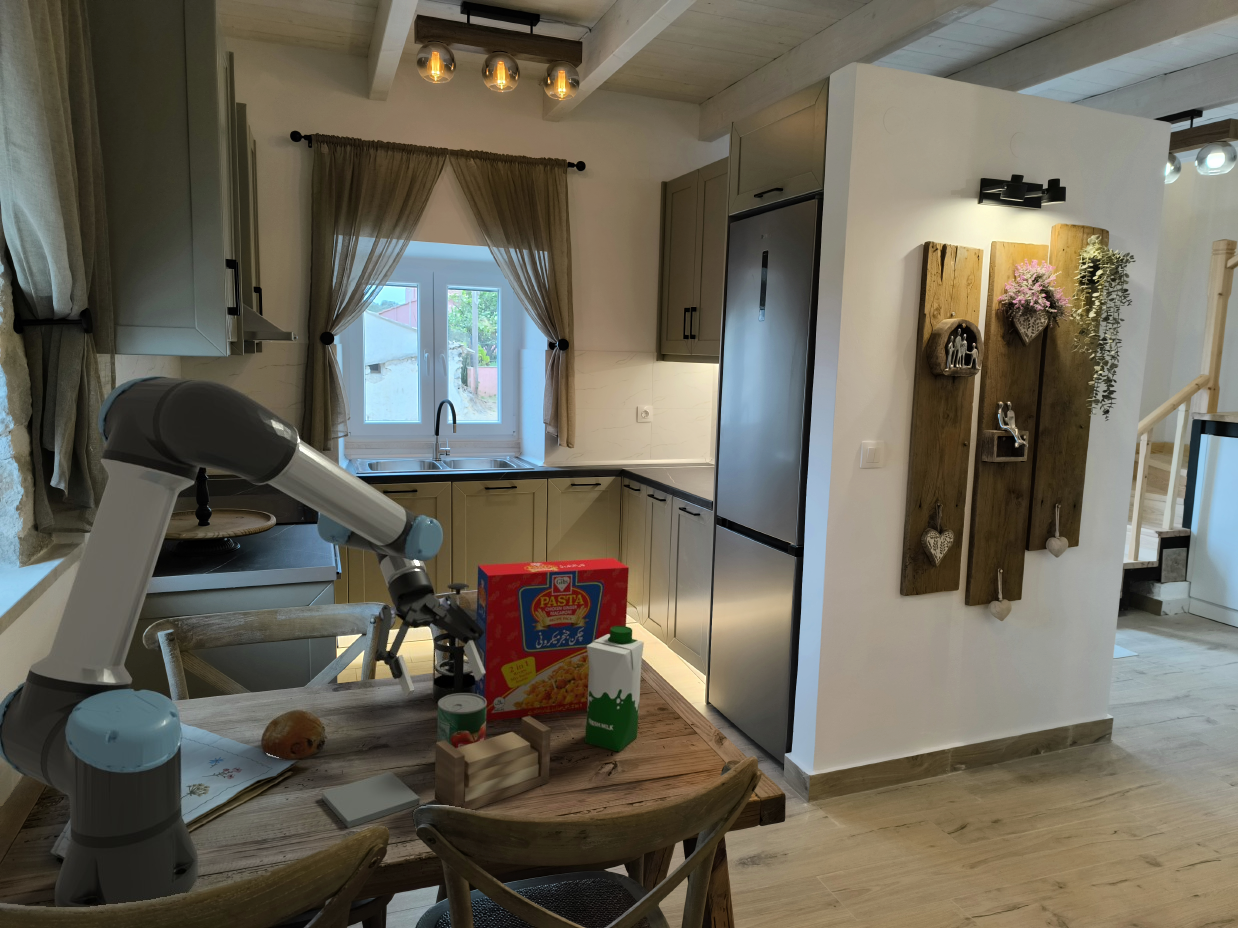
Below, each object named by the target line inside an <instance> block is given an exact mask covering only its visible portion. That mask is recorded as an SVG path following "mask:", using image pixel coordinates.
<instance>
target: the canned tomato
mask: <svg viewBox="0 0 1238 928" xmlns="http://www.w3.org/2000/svg"><path fill="white" fill-rule="evenodd" d="M486 704H487V701H486V699H485V698H484V697H482V696H480V695H477V694H471V693H457V694H451V695H447V696H445V697H443V698H441V699H440V700H439V701H438V704H437V737H436V738H437V742H440V741H443V740H445V741H447V742H448V743H449V744H451V745H452V746H453V747H455V748H459V747H462V746H466V745H469V744H473V743H476V742H479V741H483V740H486V737H487V736H486V734H487V733H486V732H487V730H486V729H487V726H486V725H487V722H486Z"/></svg>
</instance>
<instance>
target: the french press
mask: <svg viewBox="0 0 1238 928" xmlns="http://www.w3.org/2000/svg"><path fill="white" fill-rule="evenodd" d="M469 587H470V586H469V585H468V584H467V583H461V582H454V583H449V584H448V585H447V587H446V588H448V589H449V590H454V591H455V595H456V603H457V604H458V605H459V603H460V600H459V598H460V595H461V592H462V591H461V590H466V589H469ZM459 606H460V605H459ZM462 609H463V610H464V611H465V612H466V613H467V614H468V615H469V616H470V617H471V618H472V619H473V620H474V621H475V622H476V623H477V610H473V609H469V608H462ZM442 610H443V609H442ZM443 611H444V612H446V610H443ZM446 613H447V612H446ZM447 616H449V617H450V618H452V617H451V616H450V615H449V614H448V613H447ZM436 618H437V619H439V616H436ZM452 619H453V618H452ZM453 620H454V619H453ZM436 628H437V629H438V630H441V631H443V629H442V628H440V627H436ZM444 640H448V645H444V644H440V643H439V642H441V641H444ZM459 641H460V640H458V639H457V638H455V637H454V636H452V635H451V634H449V633H448V632H444V633H441V634H438V635H435V637H434V638H433V657H432V658H433V661H432V664H433V665H432V671H433V672H432V692H431V700H432V702H433V703H435V704H437V705H438V701H439V700H440V699H441V698H443V697H445V696H447V695H451V694H457V693H471V694H475V677H474V674H473V672H472V669H471V666H470V664H469V661H468V659H466V658H465V656H464V655H465V651H464V647H465V645H459V644H460V643H459ZM436 650H437V651H440V652H441V653H446V654H447V653H448V655H447V656H448V657H447V659H445V660H441V661H439V662H436ZM436 673H437V674H438V676H436Z"/></svg>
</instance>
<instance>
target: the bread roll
mask: <svg viewBox="0 0 1238 928" xmlns="http://www.w3.org/2000/svg"><path fill="white" fill-rule="evenodd" d="M327 739H328V736H327V734H326V727H325V725H324V724H323V723H322V721H321V719H319V718H318V716H316V715H315V714H314V713H312V712H311V711H309V710H303V709H295V710H290V711H287V712H284V713H282V714H280V715H278V716H276V718H273V719H272V720H271V721H269V723H268V724H267V725H266V727H265V729H264V730H263V733H262V735H261V740H260V741H261V742H260V743H261V748H262V751H263V753H264V752H266V753H268V754H270V755H273V756H276V757H279V758H282V759H285V760H284V761H292V760H300V759H305V758H309V757H311V756H312V755H315V754H317V753H319V752H320V751H321V750H322V749H323V748H324V745H325V744H326V740H327ZM282 759H281V760H282Z"/></svg>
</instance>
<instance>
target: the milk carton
mask: <svg viewBox="0 0 1238 928" xmlns="http://www.w3.org/2000/svg"><path fill="white" fill-rule="evenodd" d="M644 643H645V641H642V640H638V639H634V638H633V628H631V627H629V626H627V625H626V626H614V627H611V628H610V634H607V635H605V636H603V637H601V638H599V639H597V640H595V641H593V643H591V644H589V645H587V652H588V659H589V680H588V704H587V709H586V712H587V713H586V721H585V722H586V723H585V733H584V735H585V737H584V743H587V744H588V745H593V746H596V747H600V748H603V749H607V750H611V751H614V752H617V751H618V753H620V752H621V751H622V750H624V749H625V748H626V747H627V746H628V745H630V744H631V743H632V742H633V741H634V740H635V739H636V738H638V725H639V711H640V693H641V671H642V660H643V653H644V646H645V645H644ZM631 741H632V742H631Z"/></svg>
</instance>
